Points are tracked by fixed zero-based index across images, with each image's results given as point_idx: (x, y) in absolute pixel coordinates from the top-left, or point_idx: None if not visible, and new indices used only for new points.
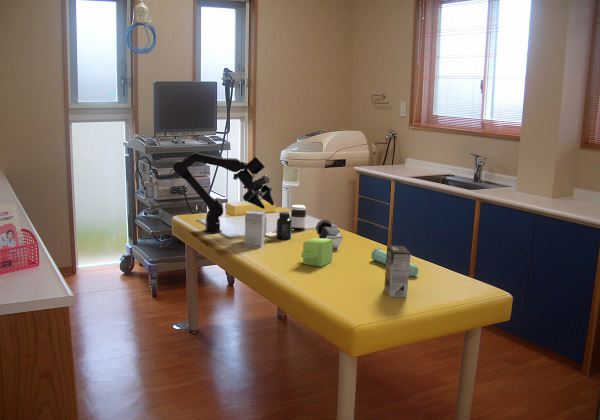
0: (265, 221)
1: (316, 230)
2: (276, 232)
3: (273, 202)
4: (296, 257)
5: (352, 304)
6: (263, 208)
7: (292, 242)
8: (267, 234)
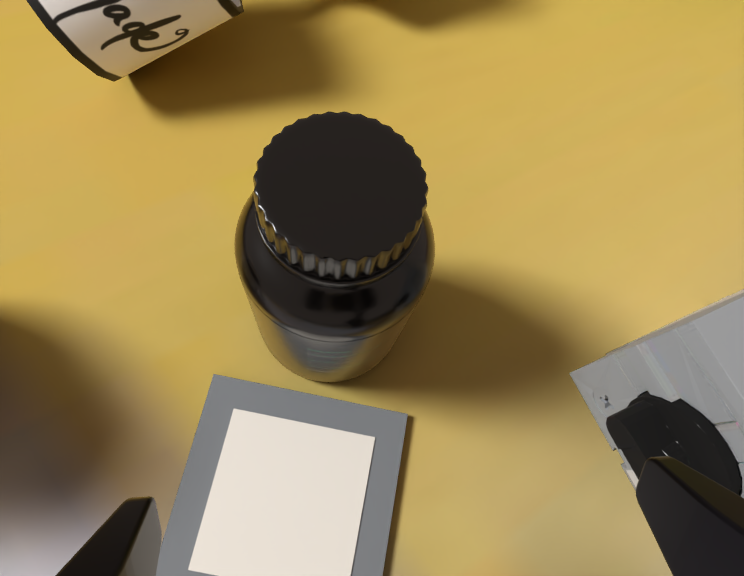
0: (729, 301)
1: (233, 4)
2: (380, 356)
3: (116, 531)
4: (694, 34)
5: None
6: (657, 484)
7: None
8: (334, 506)
